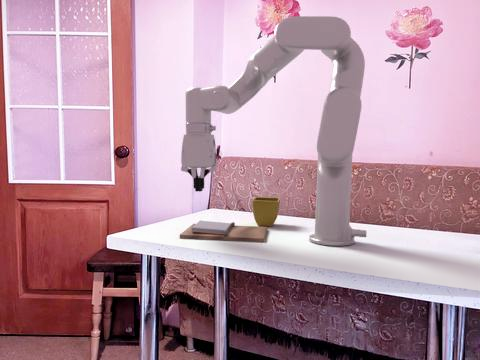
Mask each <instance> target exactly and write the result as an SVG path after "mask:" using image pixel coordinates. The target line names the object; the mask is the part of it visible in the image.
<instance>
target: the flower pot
mask: <svg viewBox="0 0 480 360" xmlns="http://www.w3.org/2000/svg"><path fill="white" fill-rule="evenodd" d="M251 202H252V213H253V218H254V221H255V223H256V225H257V226H258V227H273V226H274V224H275V222H276V220H277V219H278V216H279V211H280V202H281V198H280V197H270V196H269V197H266V196H264V197H263V196H255V197H254V198H253V199H252V200H251Z"/></svg>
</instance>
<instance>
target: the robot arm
mask: <svg viewBox="0 0 480 360" xmlns="http://www.w3.org/2000/svg"><path fill="white" fill-rule="evenodd" d="M273 32H274V35H273V37H272V38H270V39H269V40H268V41H267V42H265V44H263V46H261V47H260V48H258V50H256V51H255V52H254V53H253V54H252V55H251V56H250V57H249V59H248V61H247V64H246V67H245V69H244V71H243V72H242V74H241V75H240V76H239V77H238V78H237V79H236V80H235V81H234V82H233V83H232V84H231V85H229V86H226V85H215V86H208V87H190V88H187V89H186V90H185V134H183V136H182V146H181V156H180V159H181V160H180V162H181V164H180V165H181V167H180V171H181V172H183V173H188V174H189V175H190V176H191V177H192V178H193V189H194V191H195V192H202V191H203V189H205V178H206V176H207V175H208V174H210V173H213V172H216V171H217V170H218V169H217V148H216V138H215V134H212V132H213V131H216V130H217V126H216V125H213V124H212V112H213V111H214V112H216V113H217V112H218V113H222V114H226V115H230V114H234V113H236V112H237V111H238V110H240V109H241V108H242V107H243V106H245V105H246V104H247V103H249V101H251V100H252V99H253V98H254V97H255V96H256V95H257V94H258V93H259V92H260V91H261V90H262V88H264V87H265V86H266V84H267V83H268V82H269V81H270V80H271V79H273V77H275V76H276V75H277V74H278V73H280V71H282V70H283V69H284V68H286V66H288V65H289V64H290V63H291V62H293V61H294V60H295V59H296V58H297V57H298V56H300V54H302V53H303V52H305V50H309V51H310V50H314V51H315V50H316V51H318V50H319V51H320V52H321V53H322V54H323V55H324V56H325V57H327V58H328V59H330V60H331V63H332V65H333V68H332V72H331V73H332V74H331V82H330V87H329V92H328V94H327V95H326V97H325V99H324V103H323V107H322V112H321V120H320V124H319V128H318V129H319V131H318V134H317V142H316V152H317V168H316V169H317V170H316V171H317V172H316V193H315V196H316V197H315V219H314V233H312V234H310V235H309V236H308V237H309V238H308V239H309V241H310V242H311V243H314V244H317V245H323V246H331V247H332V246H333V247H335V246H336V247H341V246H342V247H343V246H351V245H353V244H355V237H359V238H367V233H368V232H367V230H363V229H357V228H356V229H355V228H352V226H351V225H350V220H351V218H350V216H351V194H352V177H353V176H352V175H353V172H352V171H353V170H352V169H353V153H354V149H355V145H356V139H357V135H358V129H359V123H360V118H361V112H362V100H361V96H362V89H363V83H364V75H365V66H366V63H365V61H366V60H365V56H364V52H363V50H362V48H361V47H360V45H359V44H358V42H356V41H355V40H354V39H353V38H352V36H351V35H352V32H351V28H350V25H349V24H348V22H347V21H346V20H345V19H343V18H341V17H338V16H324V15H323V16H321V15H318V16H310V15H307V16H300V15H299V16H298V15H297V16H295V15H294V16H288V17H285V18H283V19H281V20H280V21H279V22H278V23H277V24H276V25H275V29H274V31H273ZM198 169H200V170H199V171H200V173H199V174H198Z"/></svg>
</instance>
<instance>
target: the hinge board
mask: <svg viewBox="0 0 480 360" xmlns="http://www.w3.org/2000/svg"><path fill="white" fill-rule="evenodd" d="M230 223H231V228H230V229H229V230H228V232H227V231H225V232H224V233H223V234H213V233H202V232H191V228H192V227H193V226H194V225H195V224H196V223H193V224H192V225H190V226H189V227H188V228H186V229H185V230H184V231H182V232H181V233H180V234H179V239H188V240H189V239H191V240H207V241H208V240H212V241H229V242H230V241H232V242H250V243H251V242H255V243H265V239H266V235H267V232H268V226H258V225H257V226H254V225H253V226H251V225H250V226H249V225H236V224H235V221H232V222H230Z"/></svg>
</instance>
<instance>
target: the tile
mask: <svg viewBox="0 0 480 360" xmlns="http://www.w3.org/2000/svg"><path fill="white" fill-rule="evenodd" d="M231 223H232V222H221V221H210V220H209V221H208V220H198V222H197V223H194V224H195V225H194V226H193V227H192V228H191V232H202V233H213V234H223V233H224V232H225V231H227V232H228V230H229V229H230V228H231Z"/></svg>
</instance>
